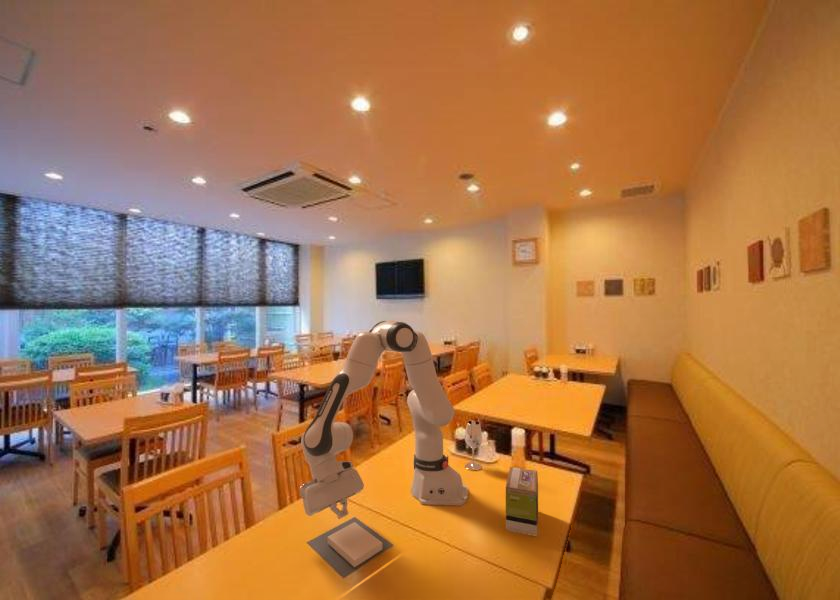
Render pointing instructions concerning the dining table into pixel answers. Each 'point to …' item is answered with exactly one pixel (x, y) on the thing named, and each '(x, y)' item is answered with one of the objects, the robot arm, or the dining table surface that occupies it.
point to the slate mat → (334, 557)
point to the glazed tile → (354, 544)
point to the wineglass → (473, 441)
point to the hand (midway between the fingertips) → (343, 516)
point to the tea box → (522, 501)
